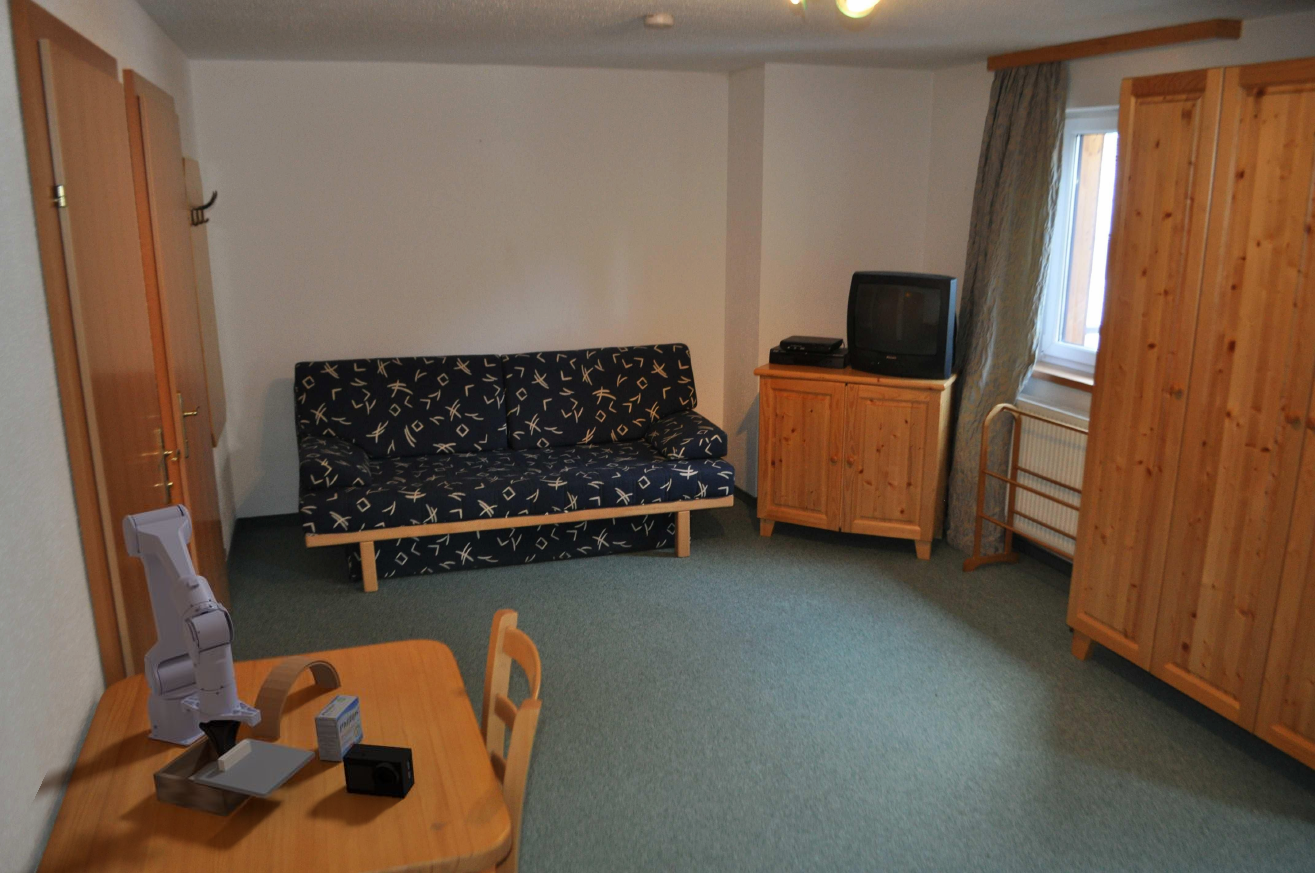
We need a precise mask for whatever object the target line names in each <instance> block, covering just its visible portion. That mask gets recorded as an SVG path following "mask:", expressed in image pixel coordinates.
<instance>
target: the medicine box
mask: <svg viewBox="0 0 1315 873" xmlns="http://www.w3.org/2000/svg"><path fill="white" fill-rule="evenodd" d="M360 707H361V706H360V698H359V697H358V696H352V695H345V694H344V695H343V694H338V695H336V696H335V697H334V698H333V699H332V700H331V701H330V702H329V703H328V704H327V705H326V706H325V707H324V708H323V709H322V710H321V711H320V712H319V713H318V714H317V715H316V716H314V725H315V726H314V727H315V732H316V741H317V747H318V755H319V760H321V761H329V762H330V761H331V762H341V763H343V756H344V755H345V754H346V753H347V751H348V750H349V749H350V748H351V747H352V745H353V744H354V743H355V744H360V742H361V741H362V740H363V738H364V733H363V732H364V731H363V725H362V716H361V715H362V714H361V708H360Z"/></svg>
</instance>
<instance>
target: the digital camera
mask: <svg viewBox="0 0 1315 873" xmlns="http://www.w3.org/2000/svg"><path fill="white" fill-rule="evenodd" d="M342 763H343V771H344V780H345V788H346V793H347V794H352V795H353V794H354V795H362V796H371V797H381V798H391V799H392V798H394V799H402V800H404V799H406V797H407V796H408V795H409V793H410V791H411V789H412V788H413V787H414V785H415V784H416V781H415V773H414V772H415V771H414V760H413V749H412V748H411V747H402V746H390V745H377V744H367V743H366V744H364V743H358V744H355V743H354V744H353V745H352V747H351V748H350V749H349V750H348V751H347V753H346V754H345V755H344V756H343V761H342Z"/></svg>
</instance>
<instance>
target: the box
mask: <svg viewBox="0 0 1315 873" xmlns="http://www.w3.org/2000/svg"><path fill="white" fill-rule="evenodd" d="M240 742H241V741H237V740H236V743H235V746H236V745H237V744H239V743H240ZM219 758H220V757H219V756H218V754H217V752H216V750H215V748H214V746H213V744H212V742H211V740H210V739H209V738H208V736H207V735H206V736H205V737H202V739H200V740H199V741H198V742H195V744H194V745H193V744H192V746H190V747H189V748H188V749H186V750H185V751H184V752H182V753H180V754H179V755H178V756H176V757H175V758H174V759H172V760H171V761H169V762H168V763H167V764H165V765H164V766H162V767H161V768H160V769H159V770H157V771H156V772H154V773H153V774H152V776H153V781H154V788H155V789H154V790H155V793H156V800H157V802H162V803H164V804H165V803H166V804H170V805H174V806H178V807H182V808H187V809H190V810H194V811H198V812H202V813H203V812H204V813H207V814H212V815H215V816H219V817H223V818H227V817H228V816H229V815H230V814H232V813H233V812H234V811H235V810H236V809H237V808H239V807H240V806H241V805H242V804H244V802H246V801H247V800H248V799H249V798H250V797H252V795H248V794H243V793H239V792H235V791H230V790H226V789H222V788H217V787H213V786H208V785H204V784H200V783H195V782H194V777H196V776H197V775H198V774H200V773H201V772H202V771H204V770H205V769H206V768H208V767H209V766H210V765H212V764H213V763H214V762H215V761H217V760H218V759H219Z"/></svg>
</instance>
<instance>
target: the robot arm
mask: <svg viewBox="0 0 1315 873" xmlns="http://www.w3.org/2000/svg"><path fill="white" fill-rule="evenodd" d="M192 525H193V524H192V519H191V515H190V513H189V510H188V509H187V507H185V505H183V504H182V503H179V504H175V505H173V506H168V507H163V508H159V509H154V510H150V511H145V512H140V513H136V514H132V515H131V514H128V515H125V516H124V518H123V519H122V526H121V527H122V533H123V538H124V543H125V547H126V551H127V553H128V555H129V557H132V558H139V559H140V560H141V562H142V564H143V569H144V573H145V579H146V583H147V588H148V594H149V599H150V604H151V609H152V614H153V619H154V625H155V629H156V635H157V639H158V640H157V641H156V642H155V644H154V645H152V647H151V648H150V649H149V650H148V651H147V652H146V653H145V654H144V658H143V659H144V665H145V667H144V673H145V679H146V683H147V687H148V689H149V694H148V698H147V705H146V706H147V712H148V719H149V723H150V729H151V732H150V733H149V734H148V735H147V736H148V738H149V739H153V740H158V741H163V742H167V743H172V744H177V745H181V746H186V747H189V746H191V745H193V744H194V743H196V741H198V740H199V739H201V738H203V736H205V735H206V736H208V738H209V739H210V740H211V742H212V744H213V746H214V748H215V750H216V752H217V754H218V756H219V757H221V756H223V755H224V754H225V753H227V752H228V751H229V750H231V749H232V748H233V747H235V743H236V741H237V737H238V734H239V733H238V732H239V730H240V727H241V724H242V723H246V724H247V725H248V726H249V727H251V728H252V727H253V726H254V725H256V724H257V723H259V722H260V721H261V715H260V710H257V709H254V707H252V706H250V705H249V704H247V703H245V702H244V701H243V700H241V699H239V697H238V689H237V683H236V676H235V668H234V662H233V661H234V660H233V655H232V647H231V643H232V642H234V639H235V630H234V625H233V621H232V619H231V615H230V614H229V612H228V610H227V608H226V607H225V606H223V605H222V603H221V602H219V603H218V602H217V600H216V598H215V595H214V592H213V591H212V588H211V587H210V584H209V582H208V580H207V579H206V577H204V576H202V575H198V574H197V573H196V571H195V567H194V565H193V561H192V558H191V556H190V552H189V550H188V546H187V545H188V544H189V543H190V542H191V535H192V532H193V527H192ZM230 642H231V643H230Z"/></svg>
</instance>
